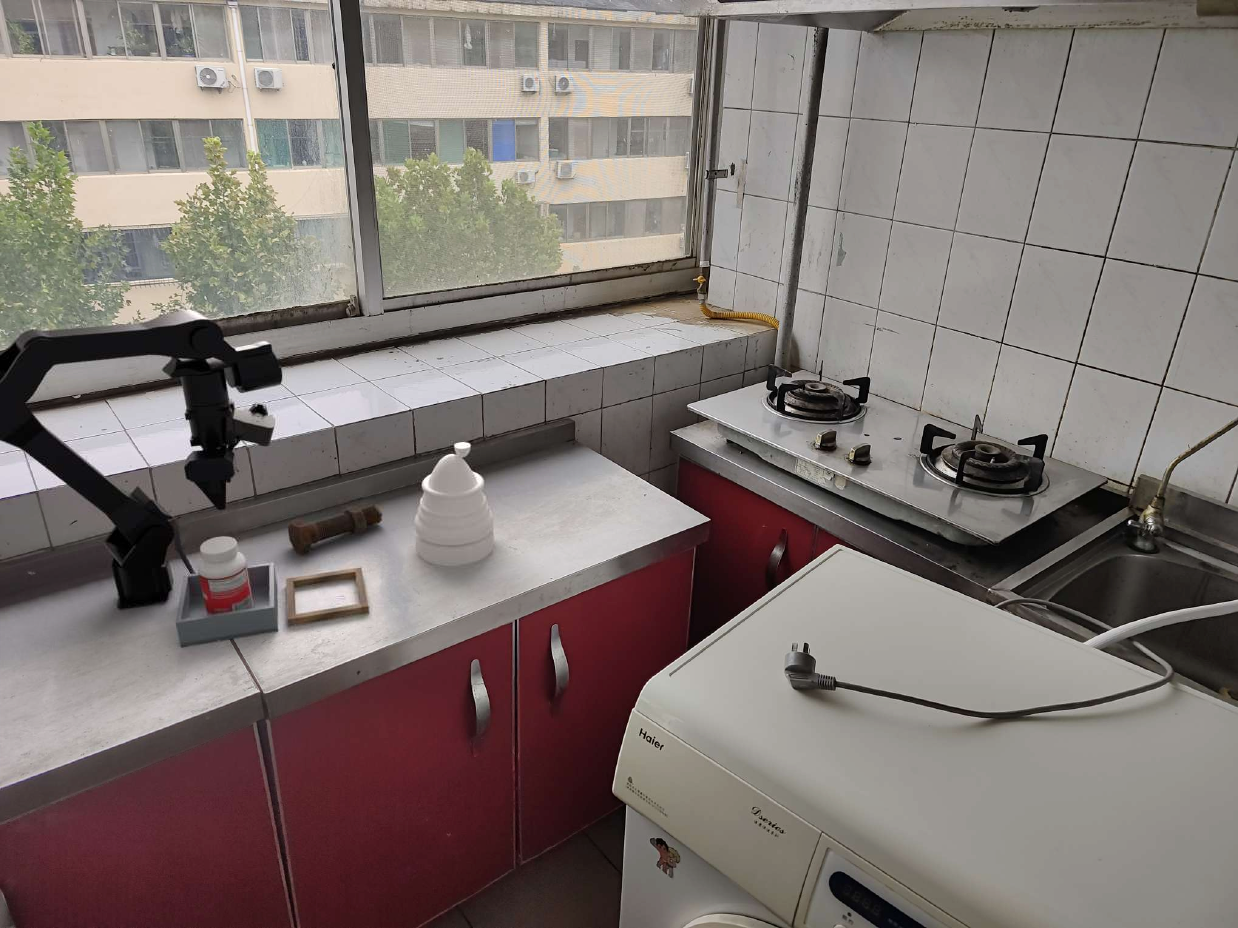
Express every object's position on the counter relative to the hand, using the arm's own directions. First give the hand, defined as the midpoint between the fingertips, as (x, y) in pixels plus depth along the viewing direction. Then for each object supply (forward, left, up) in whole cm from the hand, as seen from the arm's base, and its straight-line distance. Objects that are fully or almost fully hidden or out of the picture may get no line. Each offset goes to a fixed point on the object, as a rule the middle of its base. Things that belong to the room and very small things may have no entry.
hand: (224, 495), depth 126 cm
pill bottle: (0, -15, -12) cm, 19 cm away
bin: (0, -14, -12) cm, 19 cm away
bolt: (+16, +4, -12) cm, 21 cm away
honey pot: (+34, -4, -12) cm, 36 cm away
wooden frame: (+13, -14, -12) cm, 23 cm away
